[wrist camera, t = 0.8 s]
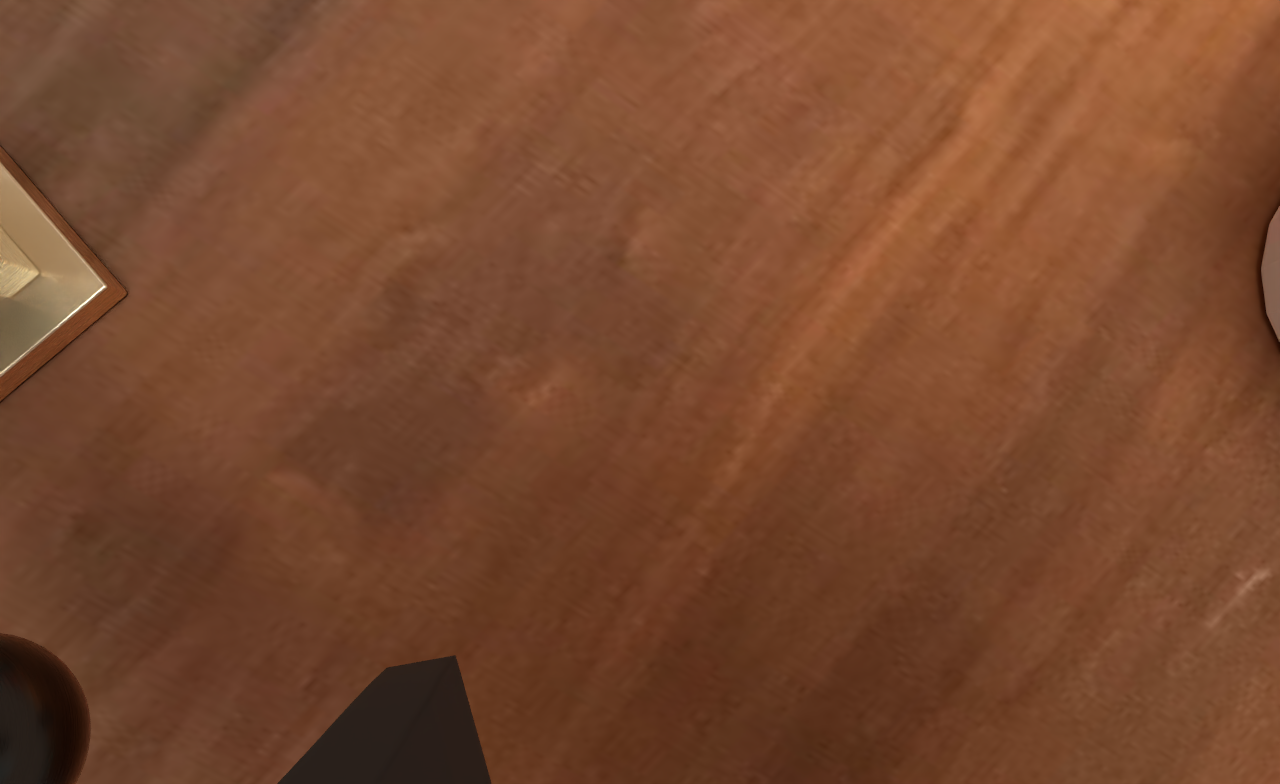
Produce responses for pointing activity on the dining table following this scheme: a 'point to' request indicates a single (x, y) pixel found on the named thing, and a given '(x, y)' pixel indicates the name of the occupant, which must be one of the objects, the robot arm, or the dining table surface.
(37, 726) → the lever
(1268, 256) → the mug
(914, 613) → the dining table surface
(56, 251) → the bracket
